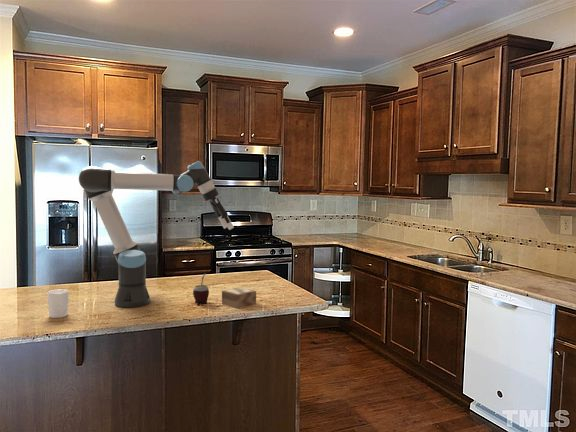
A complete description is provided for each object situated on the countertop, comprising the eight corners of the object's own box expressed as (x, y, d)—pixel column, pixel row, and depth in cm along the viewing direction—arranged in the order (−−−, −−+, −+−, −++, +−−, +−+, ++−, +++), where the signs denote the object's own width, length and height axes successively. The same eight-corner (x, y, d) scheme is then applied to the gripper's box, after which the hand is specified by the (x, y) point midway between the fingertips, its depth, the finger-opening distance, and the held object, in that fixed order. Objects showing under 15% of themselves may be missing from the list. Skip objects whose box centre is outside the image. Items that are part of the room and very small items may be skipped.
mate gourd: (198, 301, 216) (198, 269, 215) (213, 302, 213) (213, 270, 212) (189, 304, 209) (189, 272, 208) (205, 306, 206) (205, 273, 205)
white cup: (72, 313, 193) (72, 289, 192) (64, 318, 185) (63, 293, 184) (53, 312, 193) (52, 289, 192) (44, 318, 185) (43, 293, 184)
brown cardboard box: (237, 308, 204) (237, 294, 204) (221, 303, 211) (221, 290, 211) (256, 304, 212) (256, 290, 212) (240, 299, 220) (240, 286, 219)
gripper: (219, 186, 219) (240, 225, 223) (211, 188, 243) (230, 223, 247) (205, 193, 218) (227, 233, 221) (198, 195, 241) (218, 230, 245)
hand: (228, 228), depth 234 cm, fingers open, 13 cm apart
